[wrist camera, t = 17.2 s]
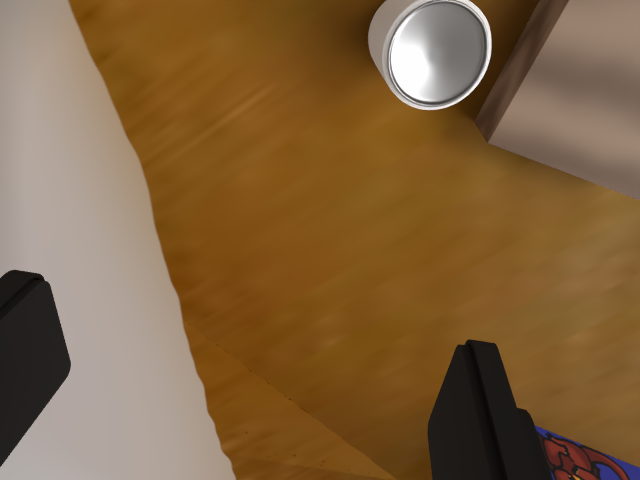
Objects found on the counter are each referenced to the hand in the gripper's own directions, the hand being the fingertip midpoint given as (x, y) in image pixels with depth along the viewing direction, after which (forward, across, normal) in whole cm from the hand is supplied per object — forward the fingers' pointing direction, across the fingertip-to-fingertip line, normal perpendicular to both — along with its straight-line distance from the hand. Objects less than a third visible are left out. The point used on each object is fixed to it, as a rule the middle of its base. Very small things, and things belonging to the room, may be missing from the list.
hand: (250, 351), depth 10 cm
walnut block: (+34, -21, -2) cm, 40 cm away
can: (+21, -6, -4) cm, 22 cm away
